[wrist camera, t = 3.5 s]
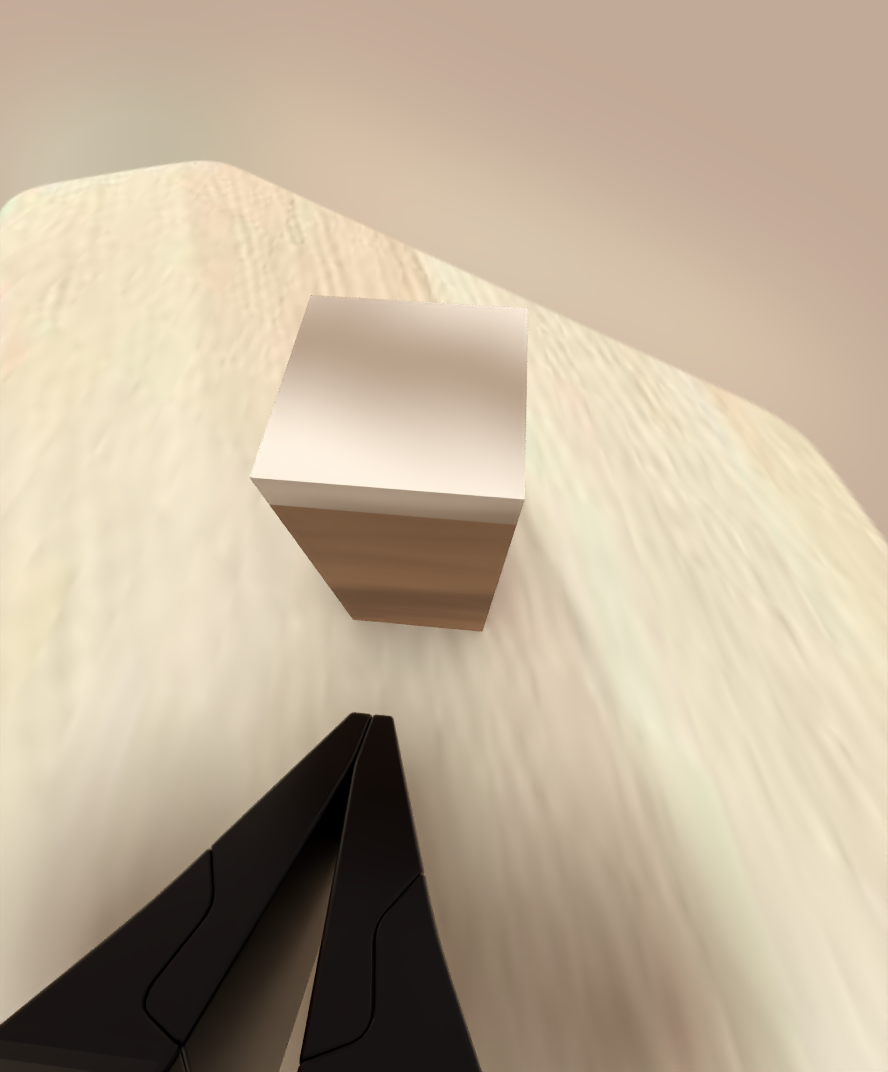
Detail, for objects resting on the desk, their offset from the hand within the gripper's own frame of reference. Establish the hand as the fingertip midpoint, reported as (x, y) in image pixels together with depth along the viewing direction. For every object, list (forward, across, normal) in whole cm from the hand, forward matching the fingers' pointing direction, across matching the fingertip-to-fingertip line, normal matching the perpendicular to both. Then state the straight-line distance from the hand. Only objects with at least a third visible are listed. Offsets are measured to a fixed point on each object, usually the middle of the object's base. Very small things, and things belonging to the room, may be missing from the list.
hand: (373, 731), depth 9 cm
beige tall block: (+10, 0, 0) cm, 10 cm away
